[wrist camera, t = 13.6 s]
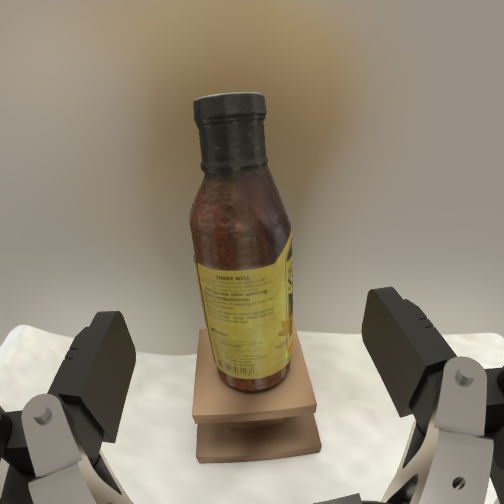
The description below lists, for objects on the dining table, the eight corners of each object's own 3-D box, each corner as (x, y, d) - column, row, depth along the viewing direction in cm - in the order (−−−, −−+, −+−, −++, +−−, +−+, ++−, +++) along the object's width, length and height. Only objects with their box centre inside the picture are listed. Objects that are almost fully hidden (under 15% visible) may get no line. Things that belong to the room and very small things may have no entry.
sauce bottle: (306, 376, 22) (315, 90, 13) (232, 407, 20) (193, 90, 11) (267, 330, 27) (257, 97, 19) (203, 352, 25) (166, 103, 16)
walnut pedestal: (199, 462, 22) (178, 420, 19) (203, 378, 32) (189, 326, 28) (319, 452, 23) (331, 407, 19) (299, 370, 32) (302, 316, 29)
